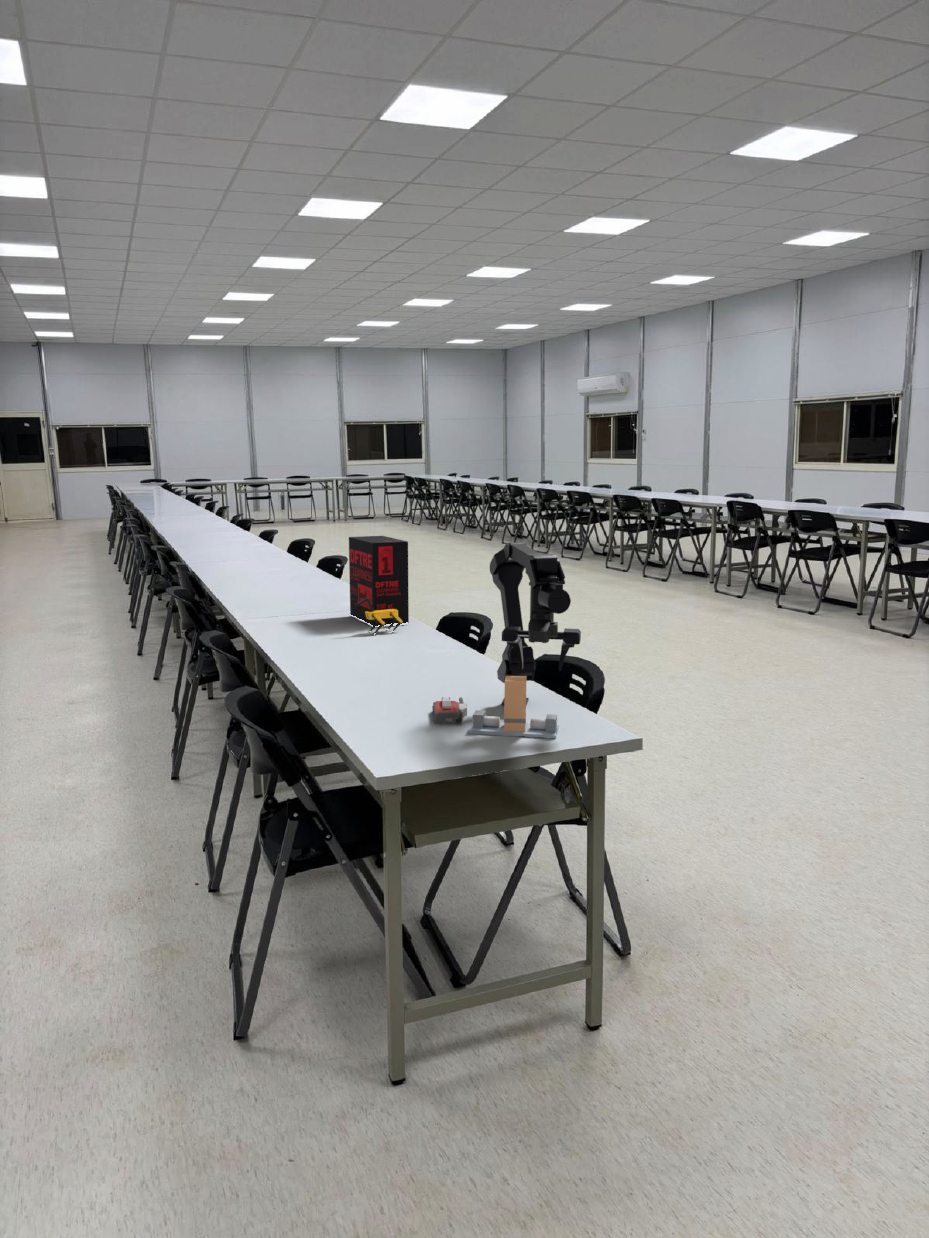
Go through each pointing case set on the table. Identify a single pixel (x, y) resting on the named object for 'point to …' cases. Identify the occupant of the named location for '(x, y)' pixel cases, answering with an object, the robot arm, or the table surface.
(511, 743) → the table surface
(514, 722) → the tan rectangular block
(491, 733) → the grey holder base
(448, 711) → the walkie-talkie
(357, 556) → the product box
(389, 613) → the robot dog
